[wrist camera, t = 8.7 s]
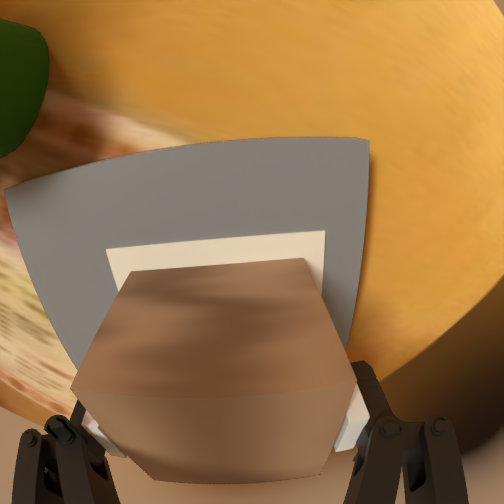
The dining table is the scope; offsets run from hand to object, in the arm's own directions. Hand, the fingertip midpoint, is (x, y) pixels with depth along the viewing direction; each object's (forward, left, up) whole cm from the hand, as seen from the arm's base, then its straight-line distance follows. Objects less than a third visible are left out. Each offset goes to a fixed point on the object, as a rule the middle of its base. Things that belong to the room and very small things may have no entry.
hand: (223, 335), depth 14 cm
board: (-2, +2, -2) cm, 4 cm away
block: (0, 0, 0) cm, 1 cm away
